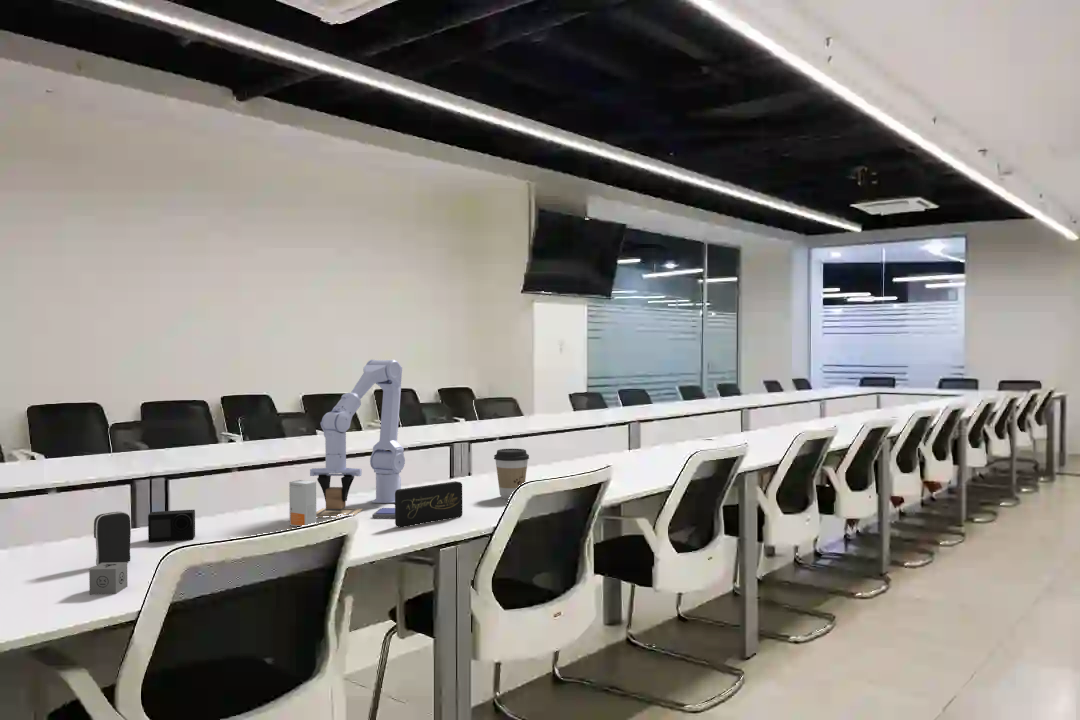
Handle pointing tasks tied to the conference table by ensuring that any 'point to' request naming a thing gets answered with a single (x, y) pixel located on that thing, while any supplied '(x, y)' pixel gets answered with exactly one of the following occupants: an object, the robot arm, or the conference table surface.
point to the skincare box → (302, 502)
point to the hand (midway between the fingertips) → (336, 501)
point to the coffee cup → (510, 469)
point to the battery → (112, 537)
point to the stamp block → (334, 499)
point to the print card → (336, 512)
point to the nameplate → (428, 503)
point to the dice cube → (108, 578)
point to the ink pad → (384, 513)
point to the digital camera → (171, 526)
